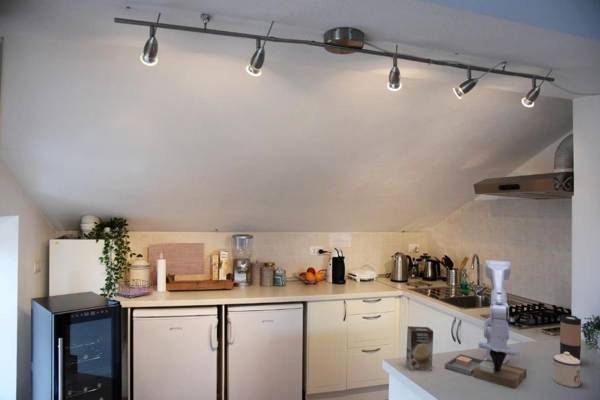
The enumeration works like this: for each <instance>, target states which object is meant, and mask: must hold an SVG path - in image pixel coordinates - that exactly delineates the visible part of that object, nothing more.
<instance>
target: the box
mask: <svg viewBox="0 0 600 400" xmlns="http://www.w3.org/2000/svg"><path fill="white" fill-rule="evenodd" d="M460 356H463V357H467V358H471V359H472V364H471V365H470V366H468V367H466V366H463V365H459V364H456V358H458V357H460ZM482 362H484V360H483V359H481V358H477V357H473V356H469V355H466V354H462V353H459V354H458V355H456V356H455V357H453V358H451V359H450V360H448V361H447V362H445V363H444V369H446V370H449V371H452V372H456V373H459V374H462V375H466V376H470V377H472V376H473V369H474V368H476V367H477V366H478V365H480V364H481V363H482Z"/></svg>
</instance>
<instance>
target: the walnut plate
mask: <svg viewBox="0 0 600 400" xmlns="http://www.w3.org/2000/svg"><path fill="white" fill-rule="evenodd" d="M485 361H486V362H489V363H493V360H490V359H486V360H485ZM493 364H494V363H493ZM472 377H473V378H476V379H480V380H483V381H486V382H490V383H493V384H496V385H499V386H502V387H506V388H508V389H512V390H513V389H514V390H515V389H516V388H517V387H518V386H519V385H520V384H521V383H522V382H523V381H524V380H525V379H526V378H527V368H524V367H521V366H520V367H519V366H516V365H512V364H509V363H502V366H501V371H499V372H498V371H495V372H494V373H490V372H487V371H483V370H480V365H478V366H477V367H476V368H474V369H473V375H472Z"/></svg>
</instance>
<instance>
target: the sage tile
mask: <svg viewBox="0 0 600 400" xmlns="http://www.w3.org/2000/svg"><path fill="white" fill-rule="evenodd" d="M483 361H484V360H483ZM480 370H483V371H487V372H490V373H494V372H495V366H494V364H493V363H489V362H486V361H484V362H482V363H481V364H480Z"/></svg>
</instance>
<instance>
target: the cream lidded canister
mask: <svg viewBox="0 0 600 400" xmlns="http://www.w3.org/2000/svg"><path fill="white" fill-rule="evenodd" d="M552 359H553V377H552V378H553V381H554V382H555V383H557V384H558V385H561V386H565V387H569V388H577V387H579V386H581V365H582V362H581V359H580V360H578V359H577V358H574V357H573V356H571V355H570V353H569V352H564V354H560V353H559V354H555V355H554V356H553V357H552Z"/></svg>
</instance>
